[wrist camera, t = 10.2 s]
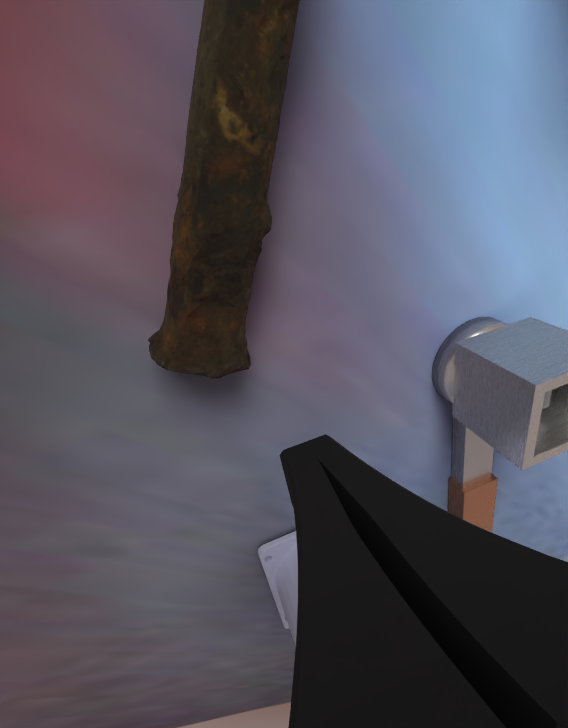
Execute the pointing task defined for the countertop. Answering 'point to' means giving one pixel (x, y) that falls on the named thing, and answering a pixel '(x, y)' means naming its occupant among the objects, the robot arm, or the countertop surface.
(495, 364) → the hollow square box
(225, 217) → the hand tool
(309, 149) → the countertop surface
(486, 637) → the robot arm
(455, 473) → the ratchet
